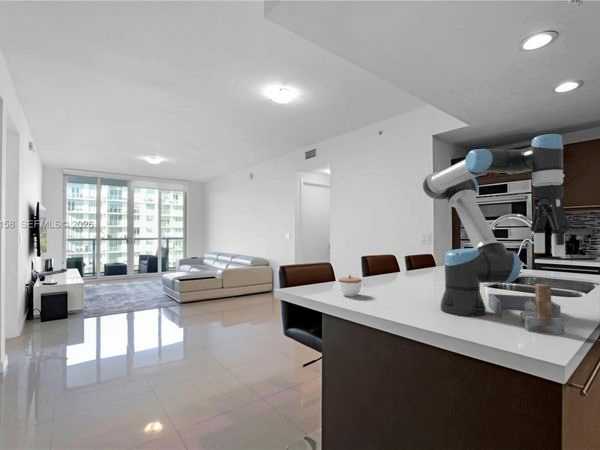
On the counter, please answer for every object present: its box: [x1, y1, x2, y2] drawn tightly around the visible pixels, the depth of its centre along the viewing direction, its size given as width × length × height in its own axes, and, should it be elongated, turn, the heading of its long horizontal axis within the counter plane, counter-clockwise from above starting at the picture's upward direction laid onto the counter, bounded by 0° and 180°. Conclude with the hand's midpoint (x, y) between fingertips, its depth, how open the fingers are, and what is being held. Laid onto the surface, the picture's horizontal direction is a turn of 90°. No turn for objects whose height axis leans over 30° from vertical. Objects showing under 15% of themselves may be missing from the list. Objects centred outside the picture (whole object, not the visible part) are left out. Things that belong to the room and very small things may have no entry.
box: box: [488, 293, 562, 319], centre depth 117 cm, size 18×15×5 cm
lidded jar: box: [338, 274, 362, 298], centre depth 150 cm, size 11×11×9 cm
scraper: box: [523, 283, 565, 335], centre depth 96 cm, size 9×3×14 cm, turn 69°
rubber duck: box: [519, 299, 536, 321], centre depth 105 cm, size 5×7×8 cm
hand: (548, 254), depth 98 cm, fingers open, 13 cm apart
